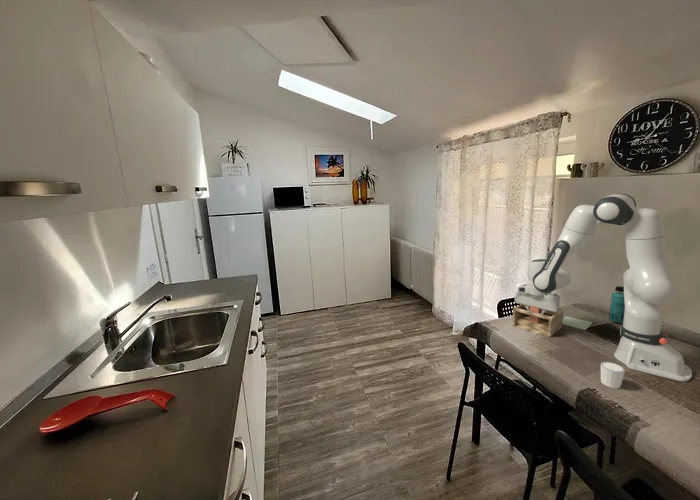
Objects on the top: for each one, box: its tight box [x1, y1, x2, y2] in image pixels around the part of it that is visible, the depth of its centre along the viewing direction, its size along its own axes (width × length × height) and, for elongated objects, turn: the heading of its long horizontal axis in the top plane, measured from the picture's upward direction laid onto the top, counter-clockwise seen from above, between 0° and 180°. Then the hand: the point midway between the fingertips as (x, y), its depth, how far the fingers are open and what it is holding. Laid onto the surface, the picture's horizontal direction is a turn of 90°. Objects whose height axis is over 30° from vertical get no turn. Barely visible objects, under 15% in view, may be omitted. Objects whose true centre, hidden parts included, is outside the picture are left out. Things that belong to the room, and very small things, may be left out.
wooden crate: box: [512, 304, 564, 338], centre depth 159 cm, size 18×16×10 cm
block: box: [529, 305, 542, 324], centre depth 156 cm, size 4×4×9 cm
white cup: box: [600, 361, 626, 389], centre depth 112 cm, size 7×7×7 cm
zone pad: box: [562, 315, 593, 331], centre depth 161 cm, size 12×12×1 cm
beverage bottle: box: [608, 285, 625, 323], centre depth 157 cm, size 6×7×20 cm
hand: (535, 314), depth 156 cm, fingers closed on block, 4 cm apart
